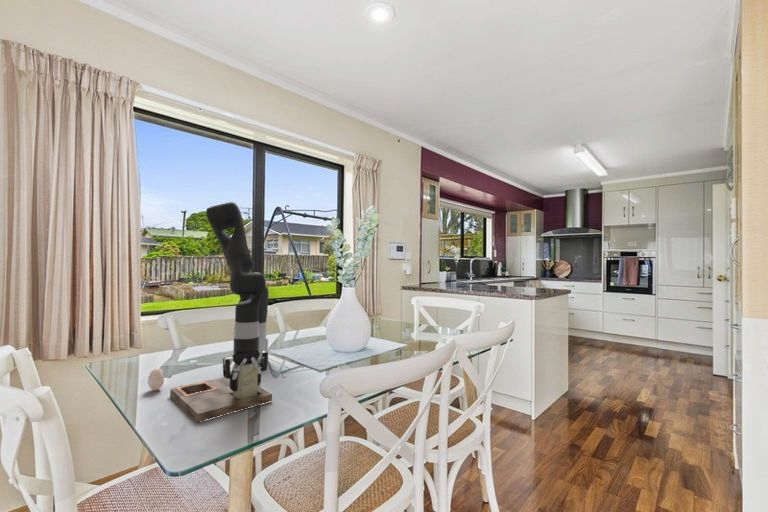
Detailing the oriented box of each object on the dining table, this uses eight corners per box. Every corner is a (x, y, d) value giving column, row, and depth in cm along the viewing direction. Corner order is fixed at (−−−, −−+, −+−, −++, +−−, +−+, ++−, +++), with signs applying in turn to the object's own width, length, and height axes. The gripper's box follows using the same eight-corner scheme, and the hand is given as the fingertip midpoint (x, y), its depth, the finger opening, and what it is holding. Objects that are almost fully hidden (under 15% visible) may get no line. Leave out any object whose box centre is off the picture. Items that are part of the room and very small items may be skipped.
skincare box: (241, 406, 112) (242, 366, 112) (232, 403, 115) (232, 364, 115) (258, 399, 118) (258, 361, 118) (248, 396, 120) (249, 359, 120)
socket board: (237, 381, 135) (237, 373, 135) (271, 402, 116) (272, 393, 116) (170, 396, 119) (170, 387, 119) (197, 423, 101) (197, 413, 101)
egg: (145, 393, 121) (145, 370, 121) (151, 388, 126) (151, 366, 126) (160, 392, 122) (161, 370, 122) (166, 387, 127) (166, 365, 127)
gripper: (262, 330, 124) (261, 380, 124) (218, 336, 114) (217, 390, 114) (273, 334, 119) (272, 385, 118) (228, 340, 108) (227, 396, 108)
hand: (245, 387), depth 116 cm, fingers closed on skincare box, 7 cm apart
